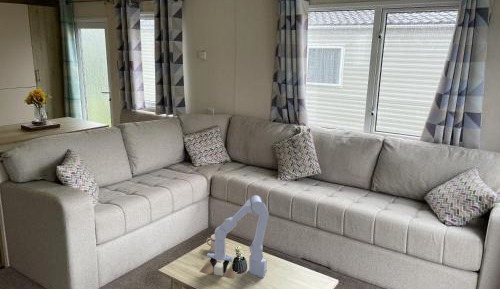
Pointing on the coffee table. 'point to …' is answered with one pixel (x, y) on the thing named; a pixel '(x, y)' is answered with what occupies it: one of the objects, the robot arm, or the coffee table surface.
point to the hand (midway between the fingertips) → (219, 271)
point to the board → (229, 274)
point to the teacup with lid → (212, 242)
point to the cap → (218, 269)
